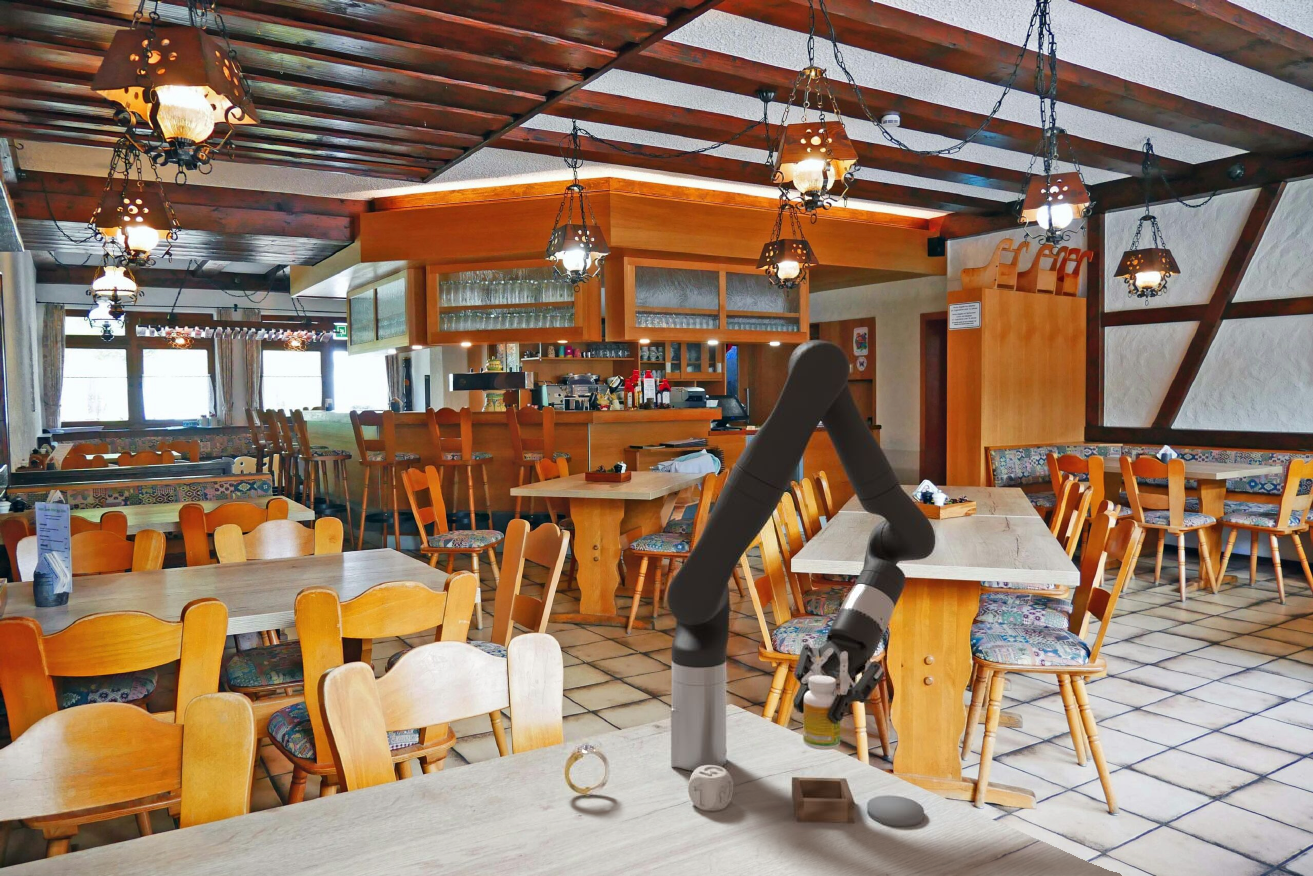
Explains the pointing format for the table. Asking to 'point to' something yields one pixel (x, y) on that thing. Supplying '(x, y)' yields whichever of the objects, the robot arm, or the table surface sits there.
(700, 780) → the die
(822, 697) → the supplement bottle
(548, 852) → the table surface
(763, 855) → the table surface
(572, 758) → the ring
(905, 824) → the rubber coaster
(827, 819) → the walnut collar
